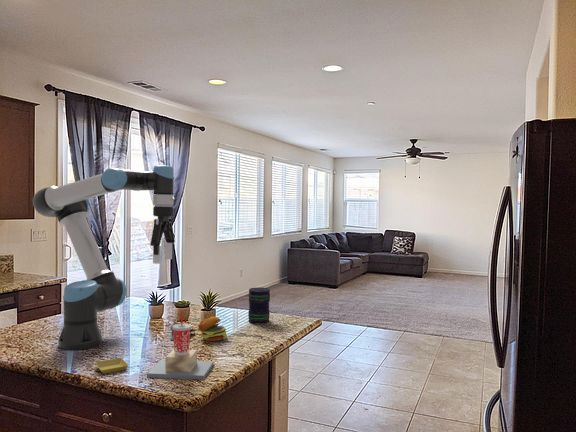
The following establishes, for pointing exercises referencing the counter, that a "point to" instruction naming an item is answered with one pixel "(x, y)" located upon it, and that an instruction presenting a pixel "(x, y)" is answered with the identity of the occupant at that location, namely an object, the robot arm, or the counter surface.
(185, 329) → the beverage cup
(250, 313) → the storage jar
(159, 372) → the board
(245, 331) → the counter surface
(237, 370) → the counter surface
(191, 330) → the dark grey crumpled piece
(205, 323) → the cheeseburger
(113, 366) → the yellow square slab
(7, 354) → the counter surface
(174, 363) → the block
